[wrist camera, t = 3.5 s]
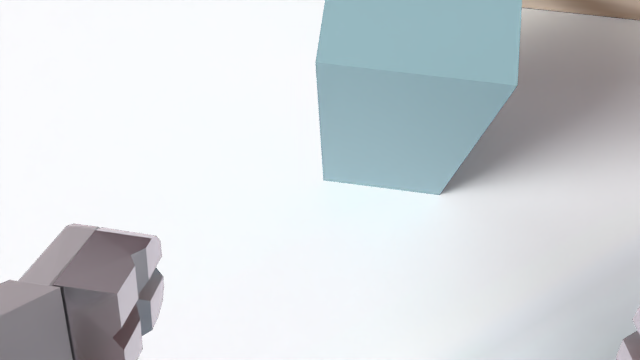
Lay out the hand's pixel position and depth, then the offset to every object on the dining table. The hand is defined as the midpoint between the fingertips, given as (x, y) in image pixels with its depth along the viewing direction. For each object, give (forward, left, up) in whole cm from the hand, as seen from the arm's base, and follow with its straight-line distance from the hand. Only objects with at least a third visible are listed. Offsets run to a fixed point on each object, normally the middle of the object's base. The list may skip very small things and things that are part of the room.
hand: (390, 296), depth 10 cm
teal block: (0, -8, -14) cm, 16 cm away
